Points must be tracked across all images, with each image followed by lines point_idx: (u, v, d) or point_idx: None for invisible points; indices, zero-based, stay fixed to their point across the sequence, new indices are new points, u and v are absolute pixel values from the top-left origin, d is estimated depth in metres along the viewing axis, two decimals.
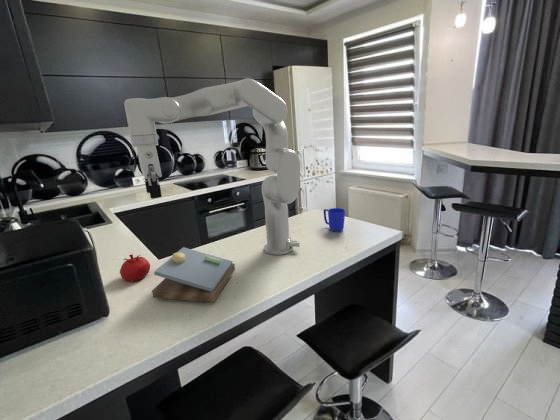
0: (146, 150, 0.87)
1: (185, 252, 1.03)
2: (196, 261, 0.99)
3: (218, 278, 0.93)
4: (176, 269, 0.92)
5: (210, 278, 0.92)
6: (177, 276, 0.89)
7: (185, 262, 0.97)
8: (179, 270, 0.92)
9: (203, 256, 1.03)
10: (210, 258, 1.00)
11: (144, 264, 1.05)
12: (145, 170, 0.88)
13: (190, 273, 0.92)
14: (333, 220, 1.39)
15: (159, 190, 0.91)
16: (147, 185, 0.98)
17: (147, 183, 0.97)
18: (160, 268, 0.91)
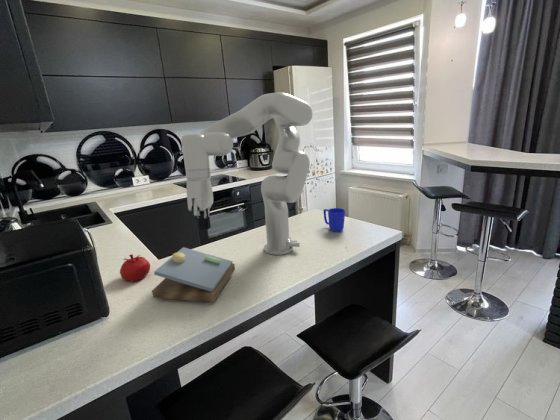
0: None
1: (185, 252, 1.03)
2: (196, 261, 0.99)
3: (218, 278, 0.93)
4: (176, 269, 0.92)
5: (210, 278, 0.92)
6: (177, 276, 0.89)
7: (185, 262, 0.97)
8: (179, 270, 0.92)
9: (203, 256, 1.03)
10: (210, 258, 1.00)
11: (144, 264, 1.05)
12: None
13: (190, 273, 0.92)
14: (333, 220, 1.39)
15: None
16: None
17: None
18: (160, 268, 0.91)
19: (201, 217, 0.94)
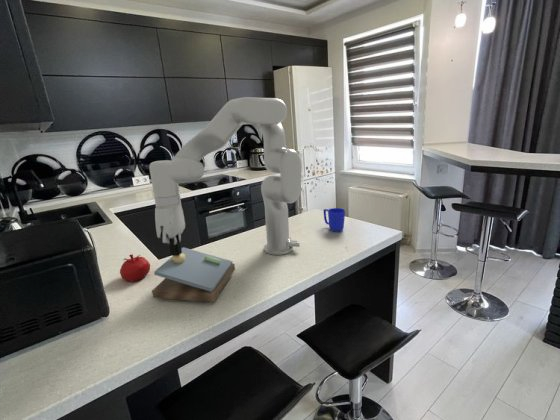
0: None
1: (185, 252, 1.03)
2: (196, 261, 0.99)
3: (218, 278, 0.93)
4: (176, 269, 0.92)
5: (210, 278, 0.92)
6: (177, 276, 0.89)
7: (185, 262, 0.97)
8: (179, 270, 0.92)
9: (203, 256, 1.03)
10: (210, 258, 1.00)
11: (144, 264, 1.05)
12: None
13: (190, 273, 0.92)
14: (333, 220, 1.39)
15: None
16: None
17: None
18: (160, 268, 0.91)
19: (171, 243, 0.93)
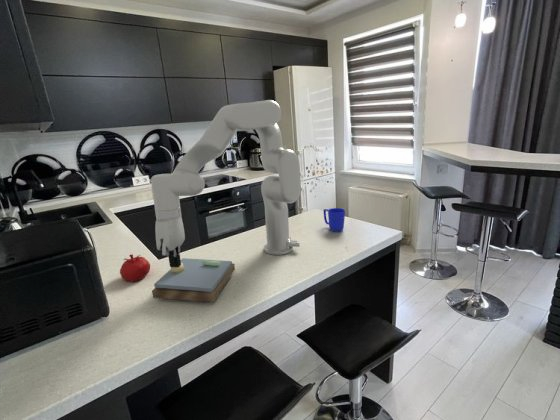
0: None
1: (184, 262, 1.04)
2: (195, 268, 1.00)
3: (217, 278, 0.93)
4: (175, 278, 0.93)
5: (209, 280, 0.92)
6: (176, 284, 0.90)
7: (184, 270, 0.98)
8: (178, 278, 0.93)
9: (202, 262, 1.04)
10: (208, 262, 1.01)
11: (144, 264, 1.05)
12: None
13: (189, 279, 0.93)
14: (333, 220, 1.39)
15: None
16: None
17: None
18: (160, 280, 0.92)
19: (171, 256, 0.94)
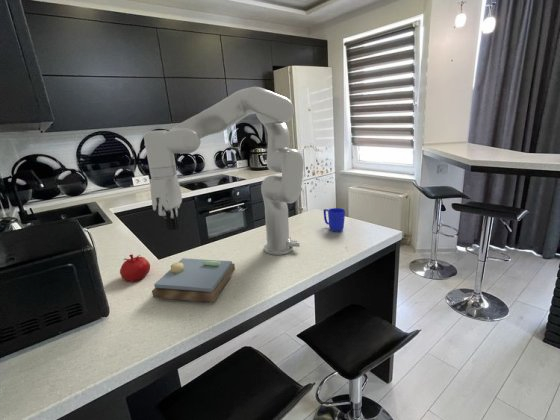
0: None
1: (184, 262, 1.04)
2: (195, 268, 1.00)
3: (217, 278, 0.93)
4: (176, 278, 0.93)
5: (209, 280, 0.92)
6: (176, 284, 0.90)
7: (184, 270, 0.98)
8: (178, 278, 0.93)
9: (202, 262, 1.04)
10: (208, 262, 1.01)
11: (144, 264, 1.05)
12: None
13: (189, 279, 0.93)
14: (333, 220, 1.39)
15: None
16: None
17: None
18: (160, 280, 0.92)
19: (168, 217, 0.91)
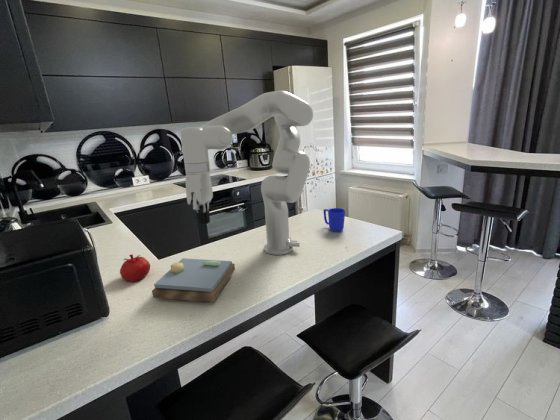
0: None
1: (184, 262, 1.04)
2: (195, 268, 1.00)
3: (217, 278, 0.93)
4: (176, 278, 0.93)
5: (209, 280, 0.92)
6: (176, 284, 0.90)
7: (184, 270, 0.98)
8: (178, 278, 0.93)
9: (202, 262, 1.04)
10: (208, 262, 1.01)
11: (144, 264, 1.05)
12: None
13: (189, 279, 0.93)
14: (333, 220, 1.39)
15: None
16: None
17: None
18: (160, 280, 0.92)
19: (200, 211, 0.94)
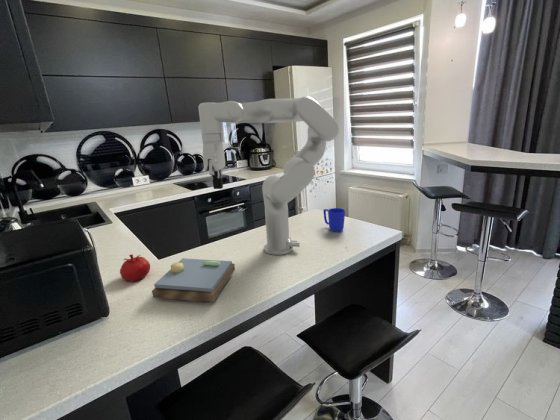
0: None
1: (184, 262, 1.04)
2: (195, 268, 1.00)
3: (217, 278, 0.93)
4: (176, 278, 0.93)
5: (209, 280, 0.92)
6: (176, 284, 0.90)
7: (184, 270, 0.98)
8: (178, 278, 0.93)
9: (202, 262, 1.04)
10: (208, 262, 1.01)
11: (144, 264, 1.05)
12: None
13: (189, 279, 0.93)
14: (333, 220, 1.39)
15: None
16: None
17: None
18: (160, 280, 0.92)
19: (215, 177, 1.08)
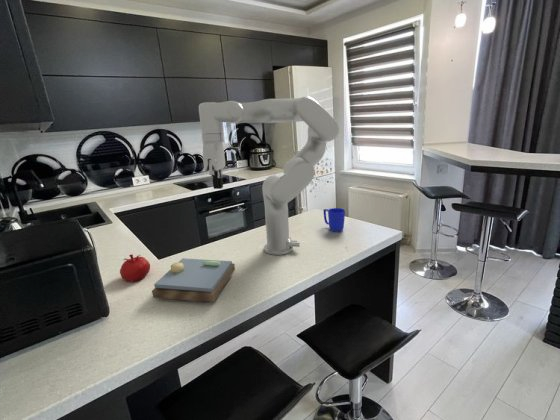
0: None
1: (184, 262, 1.04)
2: (195, 268, 1.00)
3: (217, 278, 0.93)
4: (176, 278, 0.93)
5: (209, 280, 0.92)
6: (176, 284, 0.90)
7: (184, 270, 0.98)
8: (178, 278, 0.93)
9: (202, 262, 1.04)
10: (208, 262, 1.01)
11: (144, 264, 1.05)
12: None
13: (189, 279, 0.93)
14: (333, 220, 1.39)
15: None
16: None
17: None
18: (160, 280, 0.92)
19: (215, 177, 1.08)
